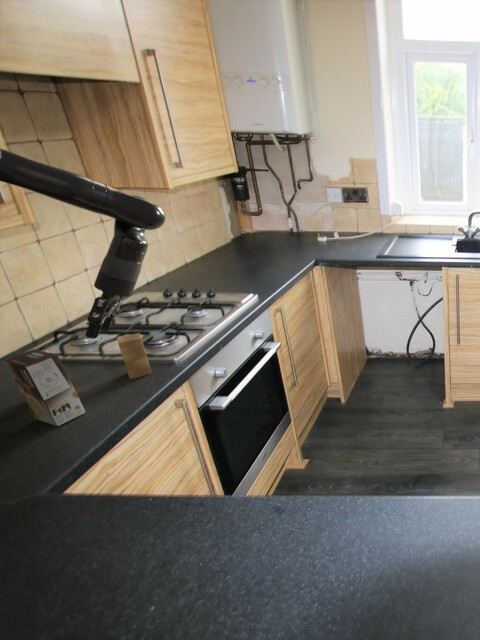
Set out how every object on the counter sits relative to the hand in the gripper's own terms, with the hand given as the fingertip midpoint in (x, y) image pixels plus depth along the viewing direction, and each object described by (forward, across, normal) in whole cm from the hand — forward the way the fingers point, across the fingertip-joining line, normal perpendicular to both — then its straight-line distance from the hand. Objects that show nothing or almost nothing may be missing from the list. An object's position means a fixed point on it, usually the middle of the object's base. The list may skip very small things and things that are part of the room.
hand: (96, 333), depth 119 cm
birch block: (+12, -10, +10) cm, 19 cm away
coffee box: (+20, +7, 0) cm, 21 cm away
